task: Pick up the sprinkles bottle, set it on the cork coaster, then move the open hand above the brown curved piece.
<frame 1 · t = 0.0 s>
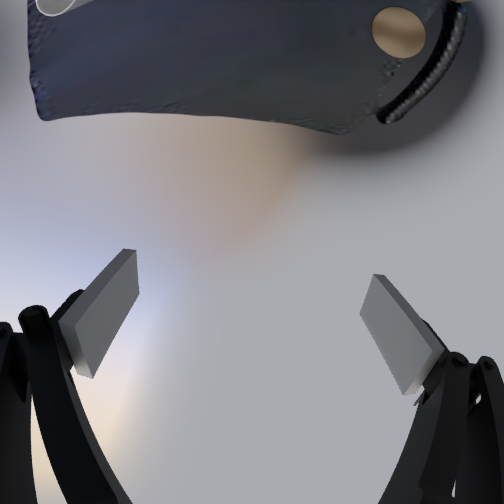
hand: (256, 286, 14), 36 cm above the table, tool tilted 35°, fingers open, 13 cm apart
cork coaster: (398, 32, 25), on the table
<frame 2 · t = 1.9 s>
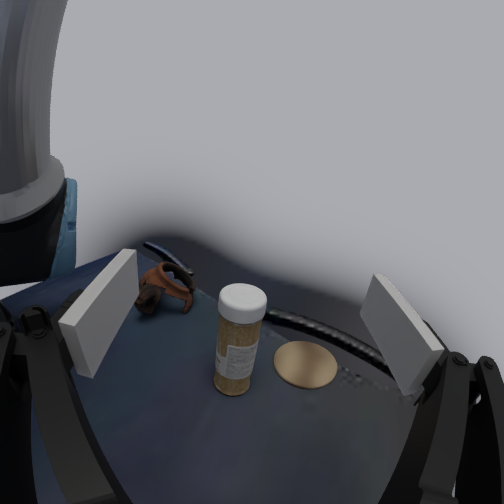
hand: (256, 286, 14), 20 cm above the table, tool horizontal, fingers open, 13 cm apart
cork coaster: (305, 365, 35), on the table
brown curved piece: (160, 308, 44), on the table
sprinkles bottle: (231, 384, 31), on the table
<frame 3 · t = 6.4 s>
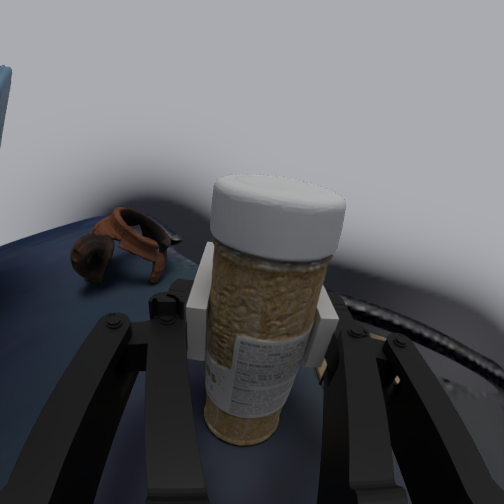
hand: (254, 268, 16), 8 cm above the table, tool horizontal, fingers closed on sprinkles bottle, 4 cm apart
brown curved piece: (118, 278, 27), on the table
sprinkles bottle: (241, 419, 14), on the table, touching gripper
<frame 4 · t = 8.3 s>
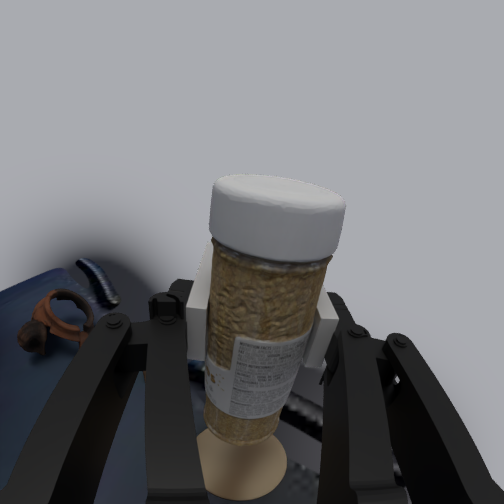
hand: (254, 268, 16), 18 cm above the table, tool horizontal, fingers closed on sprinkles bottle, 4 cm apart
cork coaster: (237, 460, 20), on the table
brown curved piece: (59, 346, 28), on the table
sprinkles bottle: (241, 420, 14), point 11 cm above the table, touching gripper
when the fingers open (9 cm above the table, at t = 10.2 s): sprinkles bottle drops 1 cm, resting on cork coaster.
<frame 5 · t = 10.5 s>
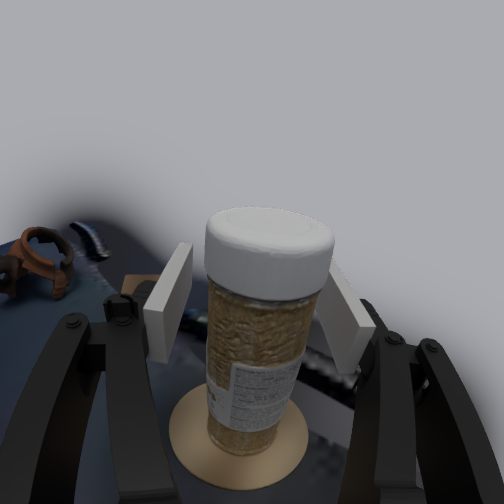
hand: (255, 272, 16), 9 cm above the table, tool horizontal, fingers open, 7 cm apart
walnut block: (147, 320, 25), on the table
cork coaster: (238, 432, 15), on the table
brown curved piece: (34, 292, 24), on the table
sprinkles bottle: (242, 430, 15), resting on cork coaster
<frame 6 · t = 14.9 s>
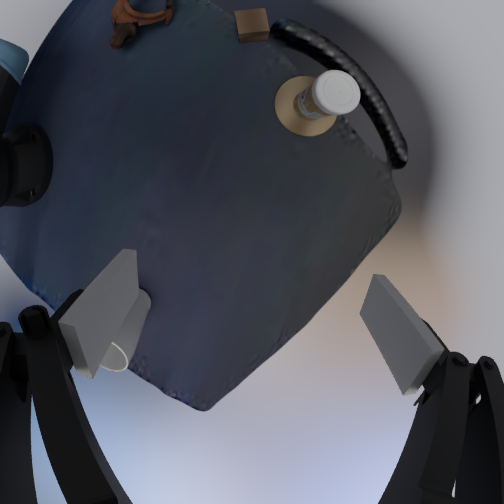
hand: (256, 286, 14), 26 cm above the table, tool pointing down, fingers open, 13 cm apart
drinking glass: (138, 298, 46), on the table
walnut block: (251, 30, 29), on the table
cork coaster: (306, 105, 34), on the table
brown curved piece: (142, 24, 28), on the table
sprinkles bottle: (308, 106, 34), resting on cork coaster
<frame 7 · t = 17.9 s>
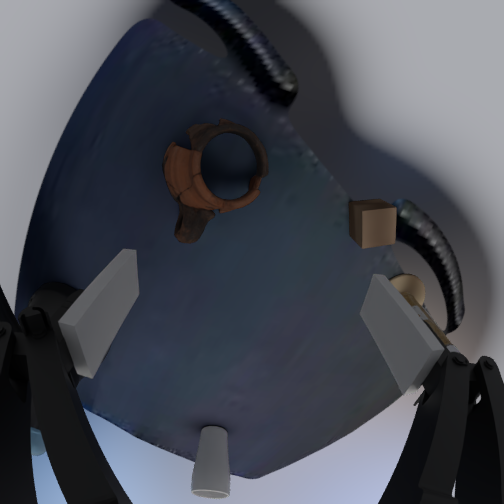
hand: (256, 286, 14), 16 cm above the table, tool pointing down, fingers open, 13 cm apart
drinking glass: (214, 430, 46), on the table
walnut block: (364, 217, 29), on the table
cork coaster: (397, 302, 34), on the table
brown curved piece: (209, 176, 28), on the table
sprinkles bottle: (399, 304, 34), resting on cork coaster
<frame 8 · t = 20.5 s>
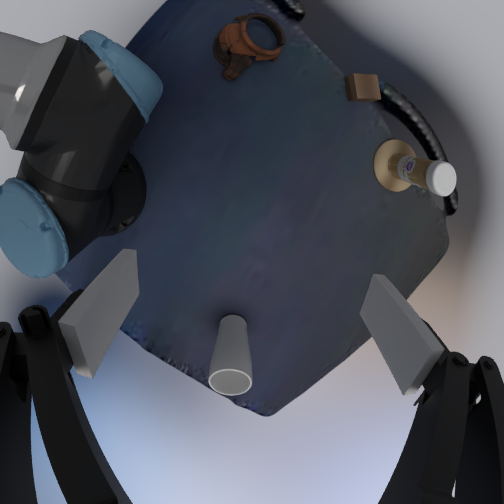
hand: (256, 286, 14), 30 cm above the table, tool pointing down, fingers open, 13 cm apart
drinking glass: (233, 323, 52), on the table
walnut block: (357, 89, 35), on the table
cork coaster: (395, 165, 40), on the table
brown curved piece: (244, 54, 33), on the table
sprinkles bottle: (397, 166, 40), resting on cork coaster
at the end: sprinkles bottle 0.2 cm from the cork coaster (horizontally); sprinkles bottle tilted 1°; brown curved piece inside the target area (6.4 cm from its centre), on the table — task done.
